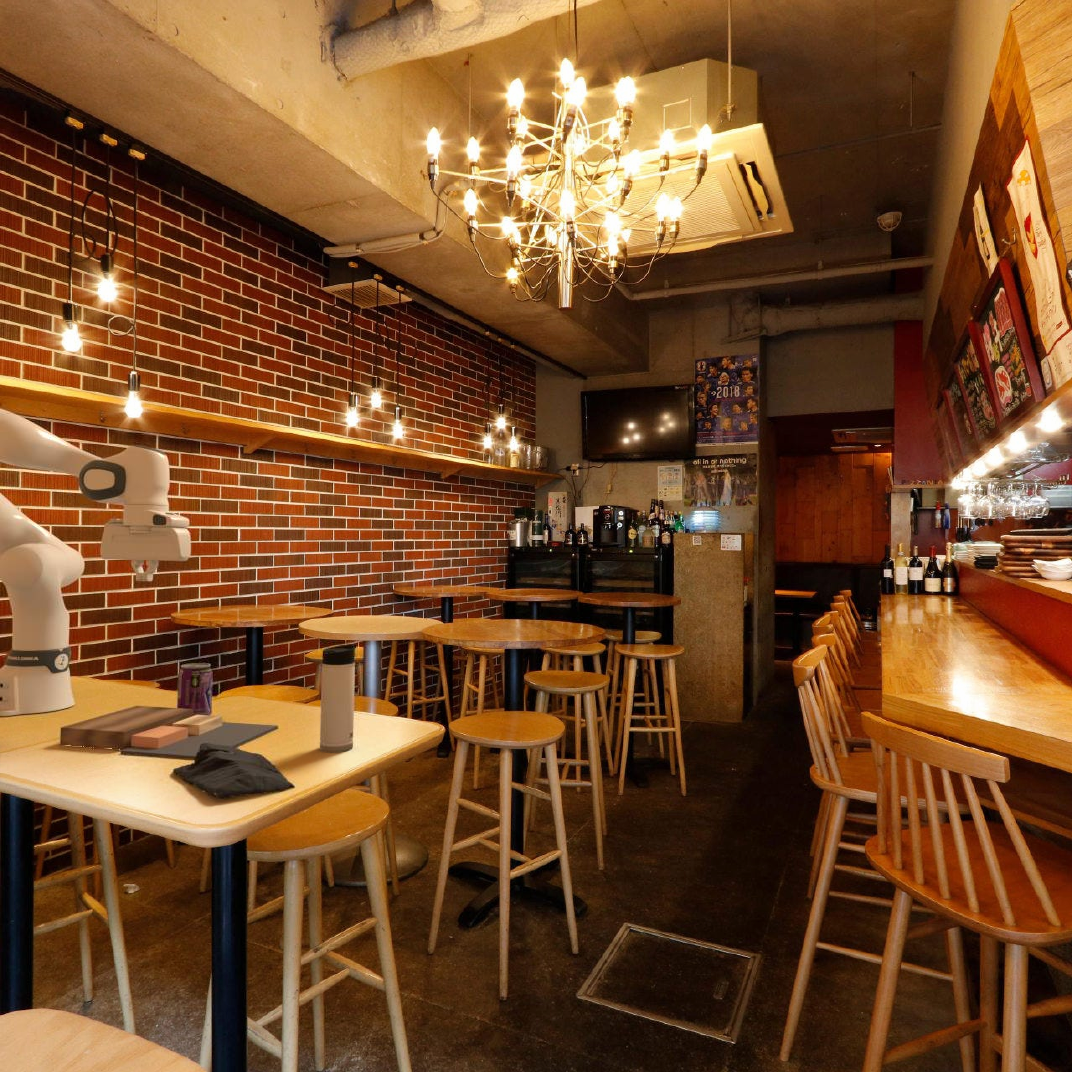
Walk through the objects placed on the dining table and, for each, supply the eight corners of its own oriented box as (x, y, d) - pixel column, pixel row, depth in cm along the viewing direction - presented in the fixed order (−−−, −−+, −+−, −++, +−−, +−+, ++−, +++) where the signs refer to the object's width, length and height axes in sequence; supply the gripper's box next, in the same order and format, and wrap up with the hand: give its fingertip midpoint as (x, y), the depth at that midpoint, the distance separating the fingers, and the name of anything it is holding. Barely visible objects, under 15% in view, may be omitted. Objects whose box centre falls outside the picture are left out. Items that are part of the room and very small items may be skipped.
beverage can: (201, 722, 156) (203, 668, 156) (170, 721, 156) (172, 667, 157) (217, 714, 163) (218, 663, 163) (186, 714, 163) (188, 662, 164)
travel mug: (360, 748, 138) (362, 646, 138) (329, 754, 133) (332, 648, 134) (344, 741, 142) (346, 642, 143) (314, 747, 138) (316, 645, 138)
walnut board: (60, 745, 136) (60, 727, 136) (135, 721, 156) (136, 705, 156) (123, 750, 133) (124, 732, 134) (192, 725, 153) (193, 709, 153)
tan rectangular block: (172, 733, 144) (172, 723, 144) (196, 724, 152) (196, 714, 152) (199, 735, 143) (199, 725, 143) (222, 725, 151) (222, 716, 151)
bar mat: (120, 753, 131) (120, 750, 131) (202, 723, 155) (202, 720, 155) (207, 760, 128) (207, 757, 128) (278, 728, 152) (278, 725, 152)
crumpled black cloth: (199, 811, 105) (200, 779, 105) (169, 773, 122) (170, 745, 122) (301, 791, 114) (302, 762, 114) (260, 758, 132) (261, 733, 132)
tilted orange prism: (131, 746, 134) (131, 735, 134) (162, 735, 142) (162, 725, 142) (158, 748, 133) (158, 737, 133) (187, 737, 141) (188, 727, 141)
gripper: (94, 517, 155) (92, 580, 155) (177, 518, 152) (175, 582, 151) (115, 519, 161) (113, 579, 161) (196, 519, 158) (194, 581, 157)
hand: (144, 581), depth 156 cm, fingers closed
